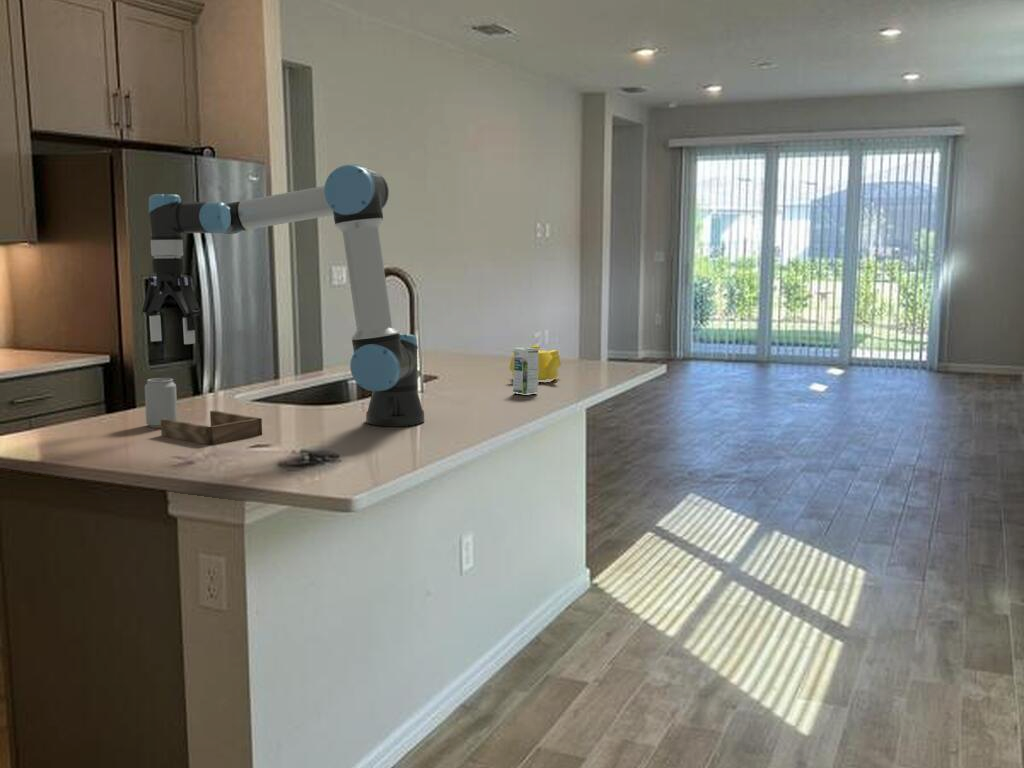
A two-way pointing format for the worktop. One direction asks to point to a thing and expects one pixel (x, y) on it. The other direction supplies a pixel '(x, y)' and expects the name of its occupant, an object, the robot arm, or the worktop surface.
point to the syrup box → (525, 370)
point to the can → (160, 401)
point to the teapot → (544, 363)
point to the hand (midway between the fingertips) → (172, 342)
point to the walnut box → (214, 428)
